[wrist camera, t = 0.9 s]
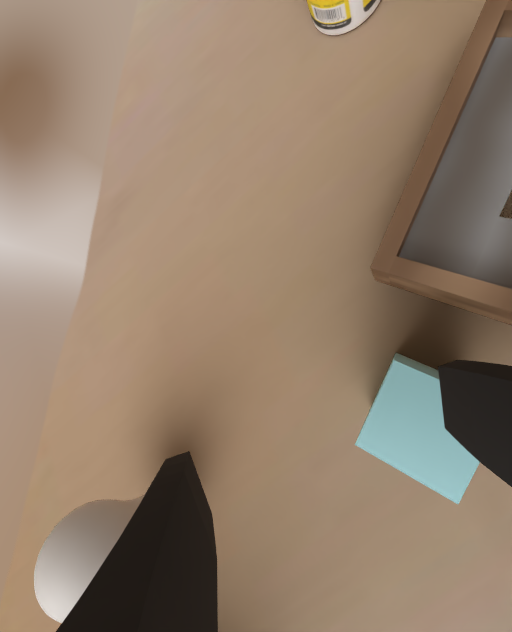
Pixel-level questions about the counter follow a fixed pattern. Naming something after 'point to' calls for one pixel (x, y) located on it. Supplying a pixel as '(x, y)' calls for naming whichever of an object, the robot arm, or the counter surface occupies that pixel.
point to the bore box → (462, 186)
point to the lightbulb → (78, 552)
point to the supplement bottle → (340, 14)
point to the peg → (416, 430)
